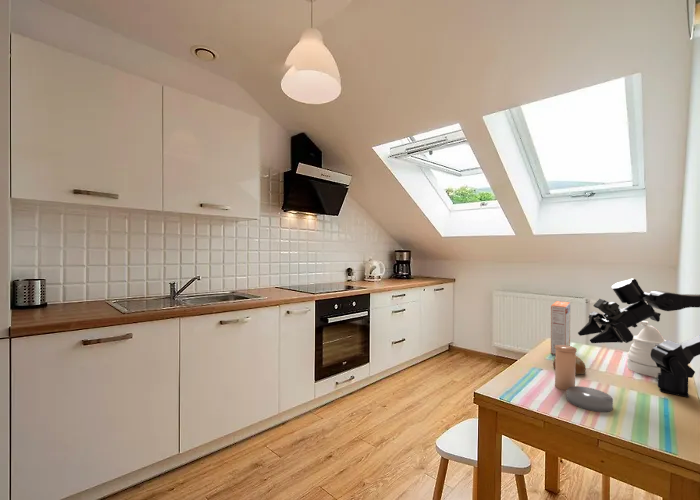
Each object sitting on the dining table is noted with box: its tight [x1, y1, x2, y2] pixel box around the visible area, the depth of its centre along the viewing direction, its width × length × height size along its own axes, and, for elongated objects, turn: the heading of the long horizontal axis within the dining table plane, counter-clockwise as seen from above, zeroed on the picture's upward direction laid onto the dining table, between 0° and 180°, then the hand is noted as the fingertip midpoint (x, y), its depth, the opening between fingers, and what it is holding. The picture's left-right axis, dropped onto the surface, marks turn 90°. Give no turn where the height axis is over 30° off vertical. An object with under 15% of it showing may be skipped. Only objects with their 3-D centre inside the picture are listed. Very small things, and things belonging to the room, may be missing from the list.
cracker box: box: [550, 300, 571, 355], centre depth 147 cm, size 14×6×21 cm, turn 141°
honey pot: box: [626, 320, 667, 378], centre depth 125 cm, size 13×13×18 cm
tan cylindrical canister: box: [554, 345, 577, 392], centre depth 110 cm, size 6×6×13 cm
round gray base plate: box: [566, 385, 614, 413], centre depth 99 cm, size 11×11×2 cm
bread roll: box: [552, 355, 587, 376], centre depth 125 cm, size 10×10×8 cm
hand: (584, 337), depth 113 cm, fingers open, 9 cm apart
